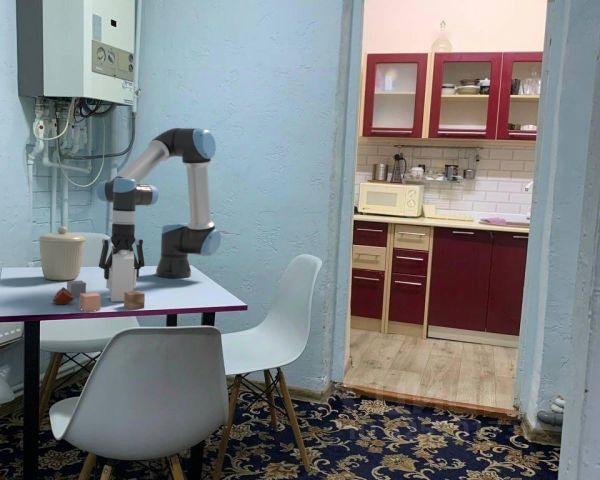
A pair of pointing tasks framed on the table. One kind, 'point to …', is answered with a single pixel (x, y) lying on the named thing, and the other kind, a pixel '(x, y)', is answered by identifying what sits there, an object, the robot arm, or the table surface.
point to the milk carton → (121, 274)
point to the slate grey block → (76, 287)
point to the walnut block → (134, 299)
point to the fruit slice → (63, 296)
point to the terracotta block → (89, 301)
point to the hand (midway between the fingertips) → (121, 287)
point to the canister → (61, 254)
